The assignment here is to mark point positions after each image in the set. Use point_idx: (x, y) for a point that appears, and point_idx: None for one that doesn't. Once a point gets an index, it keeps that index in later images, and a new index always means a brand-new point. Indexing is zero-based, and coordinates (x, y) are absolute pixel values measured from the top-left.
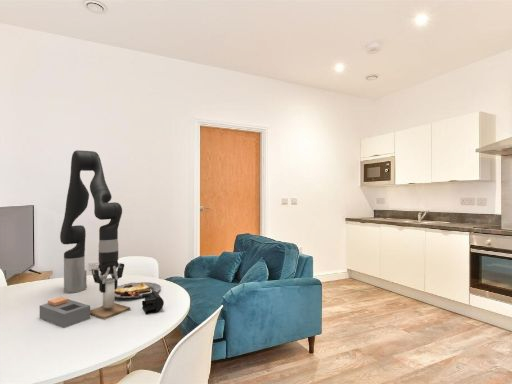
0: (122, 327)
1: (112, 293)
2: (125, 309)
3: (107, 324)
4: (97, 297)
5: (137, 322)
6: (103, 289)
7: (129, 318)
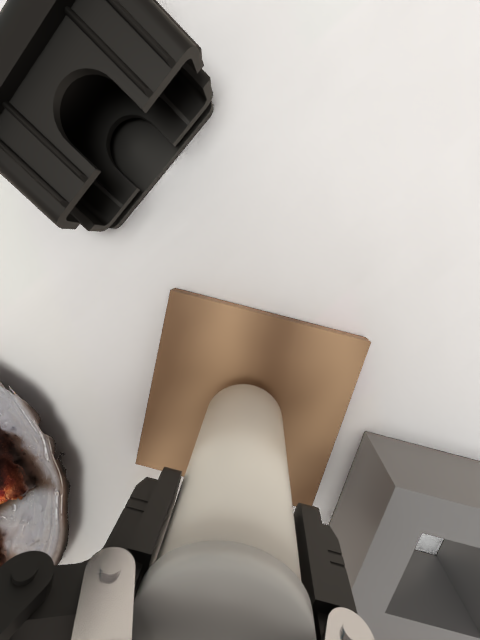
0: (462, 117)
1: (244, 440)
2: (210, 299)
3: (431, 261)
4: None
5: (361, 67)
6: (323, 536)
7: (309, 184)
